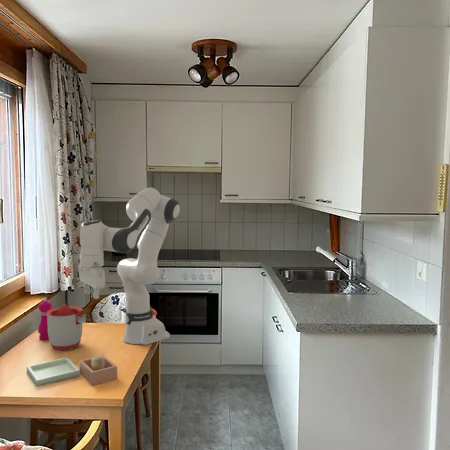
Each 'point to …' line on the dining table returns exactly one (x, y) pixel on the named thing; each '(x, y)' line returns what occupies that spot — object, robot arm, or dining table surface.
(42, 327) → the pepper mill
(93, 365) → the beech cylinder
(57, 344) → the citrus juicer
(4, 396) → the dining table surface
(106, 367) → the open square frame
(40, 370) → the tray
